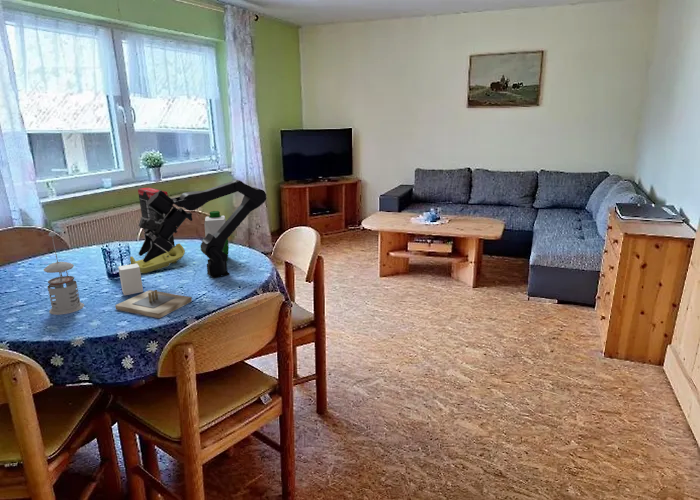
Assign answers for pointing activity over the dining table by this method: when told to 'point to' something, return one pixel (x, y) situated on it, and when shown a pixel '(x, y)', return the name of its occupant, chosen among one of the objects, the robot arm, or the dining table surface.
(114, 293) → the dining table surface
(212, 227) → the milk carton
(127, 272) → the block
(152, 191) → the graphics card box
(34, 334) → the dining table surface
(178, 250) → the plastic component
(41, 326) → the dining table surface
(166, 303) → the board
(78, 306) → the french press
